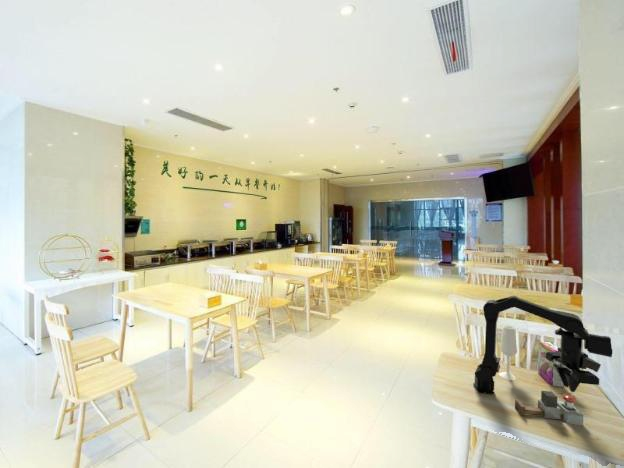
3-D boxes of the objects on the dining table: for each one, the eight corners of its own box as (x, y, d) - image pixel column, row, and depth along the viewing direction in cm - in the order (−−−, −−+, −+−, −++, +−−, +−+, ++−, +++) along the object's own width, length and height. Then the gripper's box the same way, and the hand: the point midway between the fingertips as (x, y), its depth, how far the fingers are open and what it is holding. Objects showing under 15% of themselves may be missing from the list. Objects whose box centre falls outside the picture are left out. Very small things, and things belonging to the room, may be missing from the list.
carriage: (544, 417, 104) (545, 396, 104) (537, 409, 108) (538, 389, 108) (560, 419, 103) (560, 398, 103) (552, 411, 108) (552, 390, 107)
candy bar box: (537, 373, 136) (538, 340, 135) (548, 374, 135) (550, 341, 134) (551, 386, 125) (553, 350, 124) (564, 388, 124) (566, 351, 123)
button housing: (567, 423, 102) (567, 412, 102) (554, 410, 109) (554, 400, 108) (583, 425, 101) (583, 414, 101) (569, 412, 108) (569, 402, 107)
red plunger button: (566, 413, 103) (567, 399, 103) (559, 407, 107) (560, 393, 106) (577, 414, 102) (578, 400, 102) (570, 408, 106) (571, 394, 106)
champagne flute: (517, 381, 129) (519, 330, 128) (500, 378, 132) (502, 328, 131) (514, 374, 135) (516, 325, 134) (498, 371, 138) (499, 323, 137)
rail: (521, 415, 106) (521, 406, 105) (514, 408, 110) (515, 399, 110) (564, 420, 103) (565, 411, 103) (556, 412, 107) (557, 404, 107)
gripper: (619, 362, 93) (617, 408, 94) (577, 340, 111) (575, 378, 112) (580, 359, 95) (578, 404, 96) (545, 337, 113) (544, 375, 114)
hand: (569, 389), depth 104 cm, fingers open, 3 cm apart
